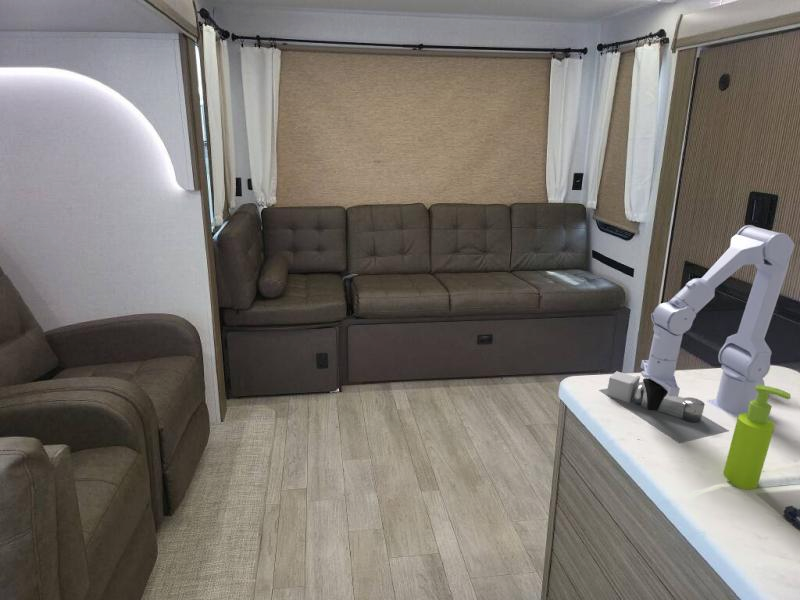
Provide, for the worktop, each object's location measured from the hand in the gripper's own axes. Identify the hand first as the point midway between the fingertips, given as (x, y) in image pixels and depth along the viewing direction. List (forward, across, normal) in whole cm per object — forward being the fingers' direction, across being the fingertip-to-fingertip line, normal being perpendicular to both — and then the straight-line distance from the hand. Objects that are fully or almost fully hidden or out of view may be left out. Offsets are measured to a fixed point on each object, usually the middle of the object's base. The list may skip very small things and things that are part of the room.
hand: (652, 409), depth 132 cm
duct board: (+2, -2, +3) cm, 4 cm away
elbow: (+1, -1, +4) cm, 4 cm away
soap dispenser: (+2, +24, +7) cm, 25 cm away
